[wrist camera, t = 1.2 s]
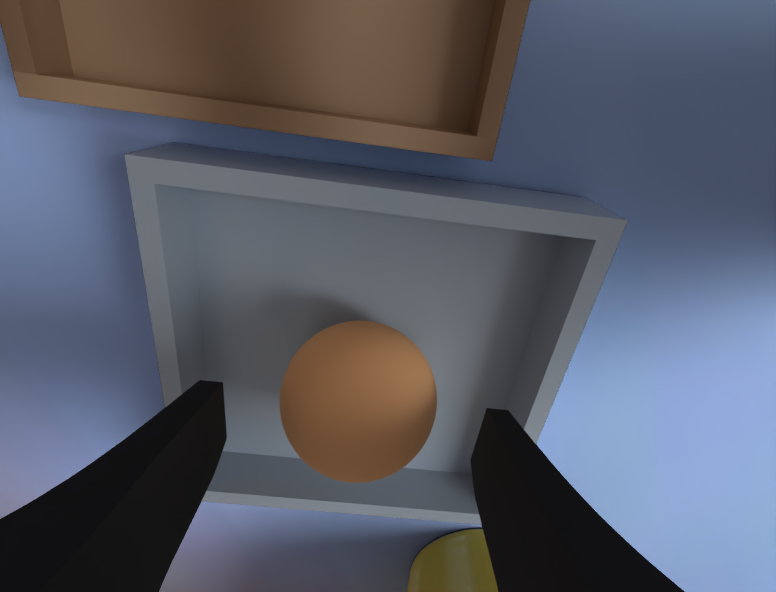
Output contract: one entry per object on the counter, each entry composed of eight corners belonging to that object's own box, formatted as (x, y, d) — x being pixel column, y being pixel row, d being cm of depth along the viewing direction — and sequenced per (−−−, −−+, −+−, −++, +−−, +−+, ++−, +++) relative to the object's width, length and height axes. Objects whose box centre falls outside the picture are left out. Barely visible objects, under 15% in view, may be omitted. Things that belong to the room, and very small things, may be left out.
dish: (585, 197, 12) (628, 220, 10) (488, 473, 18) (502, 526, 16) (173, 142, 11) (124, 154, 9) (205, 447, 17) (179, 499, 15)
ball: (441, 302, 13) (464, 398, 9) (418, 409, 15) (428, 526, 11) (299, 286, 13) (258, 377, 9) (295, 397, 15) (261, 513, 11)
